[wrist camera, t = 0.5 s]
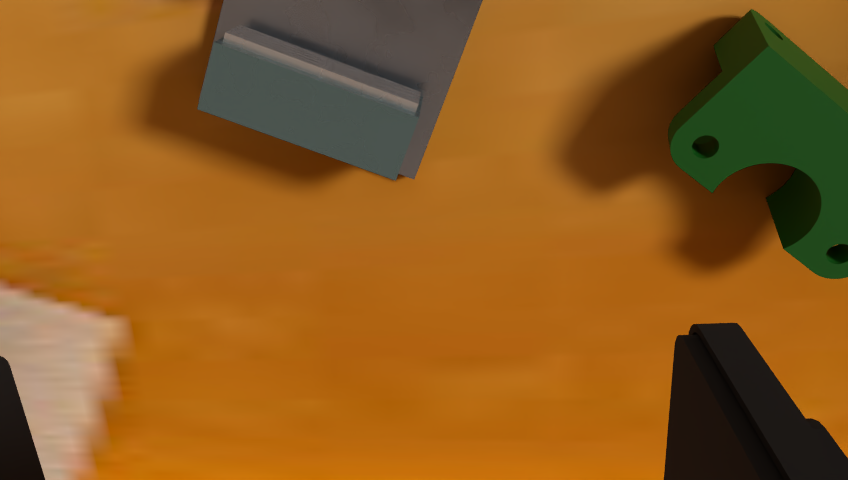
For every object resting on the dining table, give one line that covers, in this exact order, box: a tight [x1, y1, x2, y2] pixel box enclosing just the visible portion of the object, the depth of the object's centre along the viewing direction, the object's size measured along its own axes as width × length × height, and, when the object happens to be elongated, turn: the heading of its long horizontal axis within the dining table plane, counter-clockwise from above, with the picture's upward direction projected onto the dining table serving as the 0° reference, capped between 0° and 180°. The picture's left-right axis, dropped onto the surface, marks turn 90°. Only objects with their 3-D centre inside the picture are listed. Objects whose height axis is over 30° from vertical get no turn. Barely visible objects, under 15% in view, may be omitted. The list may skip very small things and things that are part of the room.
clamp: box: [668, 9, 848, 279], centre depth 35 cm, size 12×6×9 cm, turn 47°
